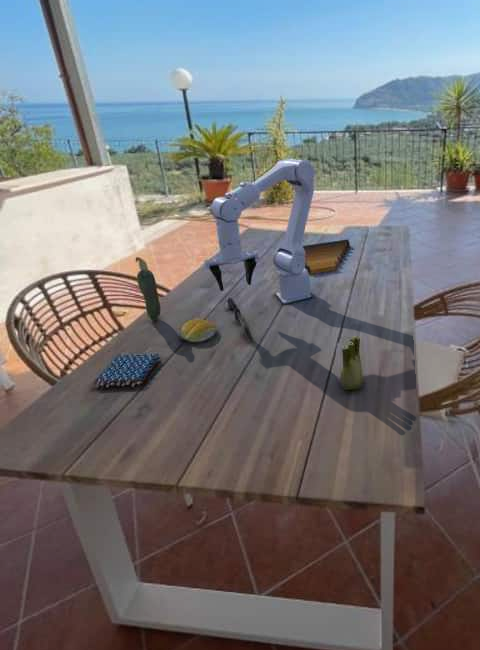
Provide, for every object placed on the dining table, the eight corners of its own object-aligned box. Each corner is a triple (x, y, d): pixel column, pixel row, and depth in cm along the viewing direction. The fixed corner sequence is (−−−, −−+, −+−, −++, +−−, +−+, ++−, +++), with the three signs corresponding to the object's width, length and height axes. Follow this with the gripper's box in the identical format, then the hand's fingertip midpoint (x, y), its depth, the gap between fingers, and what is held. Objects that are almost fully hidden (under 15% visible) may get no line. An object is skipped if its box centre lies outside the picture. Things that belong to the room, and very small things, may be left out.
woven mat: (117, 360, 96) (115, 353, 95) (161, 358, 96) (160, 351, 95) (93, 388, 86) (90, 381, 85) (142, 386, 86) (140, 379, 86)
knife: (254, 350, 103) (253, 335, 101) (248, 352, 103) (247, 337, 100) (233, 305, 121) (231, 292, 119) (228, 306, 120) (226, 293, 118)
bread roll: (201, 323, 112) (199, 311, 110) (221, 332, 107) (219, 320, 106) (174, 336, 105) (172, 323, 104) (195, 347, 101) (192, 333, 99)
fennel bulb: (344, 396, 84) (344, 349, 79) (335, 383, 88) (333, 337, 83) (368, 387, 86) (368, 341, 82) (357, 375, 90) (357, 330, 86)
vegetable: (166, 318, 114) (153, 255, 107) (155, 326, 110) (140, 261, 103) (155, 316, 115) (141, 253, 108) (143, 323, 112) (128, 259, 104)
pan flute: (346, 245, 175) (292, 253, 165) (346, 238, 173) (291, 246, 163) (371, 264, 153) (310, 275, 144) (371, 256, 152) (310, 266, 142)
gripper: (204, 250, 99) (211, 298, 104) (260, 241, 106) (264, 286, 111) (199, 242, 105) (206, 288, 110) (252, 234, 112) (257, 277, 117)
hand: (235, 286), depth 111 cm, fingers open, 7 cm apart
